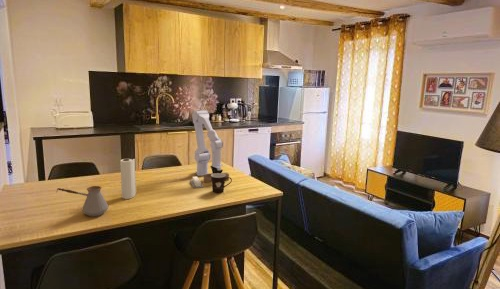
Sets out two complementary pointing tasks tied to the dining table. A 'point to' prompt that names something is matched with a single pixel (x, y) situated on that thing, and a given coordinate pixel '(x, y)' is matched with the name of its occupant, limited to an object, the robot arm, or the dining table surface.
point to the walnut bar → (208, 177)
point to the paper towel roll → (128, 178)
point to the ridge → (196, 183)
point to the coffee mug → (218, 182)
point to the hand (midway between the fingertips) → (216, 178)
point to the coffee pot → (92, 201)
